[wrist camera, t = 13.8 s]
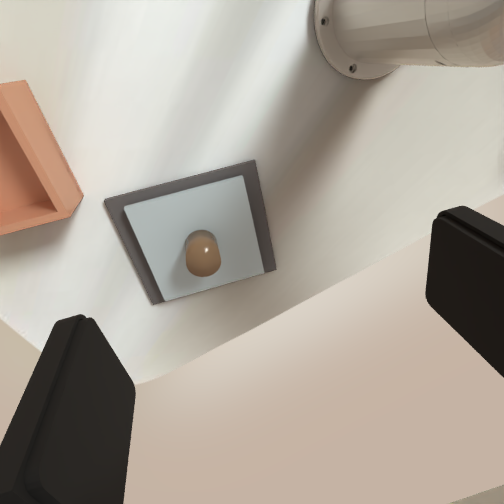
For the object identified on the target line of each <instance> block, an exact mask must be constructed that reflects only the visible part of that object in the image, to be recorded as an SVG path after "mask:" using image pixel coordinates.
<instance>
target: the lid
mask: <svg viewBox="0 0 504 504" xmlns="http://www.w3.org/2000/svg"><path fill="white" fill-rule="evenodd" d="M124 210H125V213H126V215H127V217H128V219H129V221H130V224H131V226H132V228H133V230H134V233H135V235H136V237H137V239H138V242H139V244H140V246H141V248H142V251H143V253H144V255H145V257H146V260H147V262H148V264H149V266H150V269H151V271H152V273H153V275H154V278H155V280H156V282H157V284H158V287H159V289H160V291H161V293H162V296H163V298H164V300H165V301H169V300H172V299H176V298H179V297H183V296H186V295H190V294H193V293H197V292H200V291H204V290H207V289H211V288H214V287H218V286H221V285H225V284H228V283H232V282H235V281H239V280H242V279H246V278H249V277H253V276H256V275H260V274H263V273H264V268H263V264H262V259H261V255H260V250H259V246H258V241H257V237H256V232H255V228H254V223H253V219H252V214H251V210H250V205H249V201H248V196H247V192H246V187H245V183H244V178H243V176H242V175H240V176H236V177H233V178H229V179H225V180H221V181H218V182H214V183H210V184H206V185H202V186H199V187H195V188H191V189H187V190H184V191H180V192H176V193H172V194H168V195H165V196H161V197H157V198H153V199H150V200H146V201H142V202H138V203H134V204H131V205H127V206H125V207H124Z"/></svg>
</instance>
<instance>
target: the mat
mask: <svg viewBox="0 0 504 504" xmlns="http://www.w3.org/2000/svg"><path fill="white" fill-rule="evenodd" d="M240 175H242V176H243V178H244V183H245V187H246V192H247V196H248V201H249V205H250V210H251V214H252V219H253V223H254V228H255V232H256V237H257V241H258V246H259V250H260V255H261V259H262V264H263V268H264V273H266V272H270V271H273V270H277V269H276V264H275V259H274V254H273V249H272V244H271V239H270V234H269V229H268V224H267V219H266V214H265V208H264V203H263V198H262V193H261V188H260V183H259V178H258V173H257V168H256V163H255V160H252V161H248V162H244V163H240V164H236V165H233V166H229V167H225V168H221V169H217V170H213V171H210V172H206V173H202V174H198V175H194V176H191V177H187V178H183V179H179V180H175V181H172V182H168V183H164V184H160V185H156V186H152V187H149V188H145V189H141V190H137V191H133V192H130V193H126V194H122V195H118V196H114V197H111V198H107V199H105V200H104V202H105V204H106V206H107V208H108V210H109V212H110V214H111V217H112V219H113V221H114V223H115V225H116V227H117V229H118V231H119V233H120V236H121V238H122V240H123V242H124V244H125V246H126V248H127V250H128V252H129V255H130V257H131V259H132V261H133V263H134V265H135V267H136V269H137V271H138V274H139V276H140V278H141V280H142V282H143V284H144V286H145V288H146V290H147V293H148V295H149V297H150V299H151V301H152V303H153V305H154V304H158V303H161V302H165V300H164V298H163V296H162V293H161V291H160V289H159V287H158V284H157V282H156V280H155V278H154V275H153V273H152V271H151V269H150V266H149V264H148V262H147V260H146V257H145V255H144V253H143V251H142V248H141V246H140V244H139V242H138V239H137V237H136V235H135V233H134V230H133V228H132V226H131V224H130V221H129V219H128V217H127V215H126V213H125V210H124V207H125V206H127V205H131V204H134V203H138V202H142V201H146V200H150V199H153V198H157V197H161V196H165V195H168V194H172V193H176V192H180V191H184V190H187V189H191V188H195V187H199V186H202V185H206V184H210V183H214V182H218V181H221V180H225V179H229V178H233V177H236V176H240Z"/></svg>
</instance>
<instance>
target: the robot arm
mask: <svg viewBox="0 0 504 504" xmlns="http://www.w3.org/2000/svg"><path fill="white" fill-rule="evenodd" d="M322 19H323V20H324V24H323V25H322V24H321V20H322ZM314 23H315V31H316V36H317V41H318V44H319V46H320V49H321V51H322V53H323V55H324V56H325V58H326V60H327V61H328V62H329V63H330V65H331V66H332V67H333V68H334V69H335V70H337V71H338V72H340V73H341V74H343V75H345V76H348V77H351V78H355V79H374V78H378V77H382V76H384V75H386V74H388V73H390V72H392V71H393V70H395V69H396V68H398V67H399V66H400V65H422V66H449V67H493V66H499V65H503V64H504V0H315V9H314ZM350 66H351V70H350V71H349V67H350ZM426 299H427V302H428V303H429V304H430V306H431V307H432V308H433V309H434V310H435V311H436V312H437V313H438V314H439V315H440V316H441V317H442V318H443V319H444V320H445V321H446V322H447V323H448V324H449V325H450V326H451V327H452V328H453V329H454V330H456V331H457V332H458V333H459V334H460V335H461V336H462V337H463V338H464V339H465V340H466V341H467V342H468V343H469V344H470V345H471V346H472V347H473V348H474V349H475V350H476V351H477V352H478V353H479V354H480V355H481V356H482V357H483V358H484V359H485V360H486V361H487V362H488V363H489V364H490V365H491V366H492V367H494V369H495V370H497V372H498V373H499V374H500V375H502V376H503V377H504V226H503V225H501V224H499V223H497V222H495V221H493V220H491V219H490V218H487V217H485V216H484V215H482V214H480V213H478V212H476V211H474V210H472V209H470V208H468V207H466V206H458V207H455V208H451V209H448V210H444V211H441V212H440V213H439V214H438V216H437V218H436V219H434V221H433V224H432V233H431V243H430V253H429V263H428V273H427V284H426ZM135 394H136V393H135V387H134V383H133V381H132V380H131V378H130V376H129V375H128V373H127V372H126V370H125V368H124V367H123V365H122V364H121V362H120V360H119V359H118V357H117V356H116V354H115V352H114V351H113V349H112V348H111V346H110V344H109V343H108V341H107V340H106V338H105V336H104V335H103V333H102V331H101V330H100V328H99V327H98V325H97V323H96V322H95V320H94V319H93V318H86V317H85V316H84V315H81V314H79V315H76V316H72V317H69V318H65V319H62V320H59V321H57V322H56V323H55V324H54V327H53V329H52V331H51V333H50V335H49V338H48V340H47V342H46V344H45V347H44V349H43V351H42V354H41V356H40V358H39V361H38V362H37V365H36V367H35V369H34V371H33V374H32V376H31V378H30V380H29V383H28V385H27V387H26V389H25V391H24V394H23V396H22V398H21V400H20V403H19V405H18V407H17V410H16V412H15V414H14V416H13V418H12V421H11V423H10V425H9V427H8V429H7V432H6V434H5V437H4V439H3V441H2V443H1V445H0V504H123V501H124V492H125V483H126V475H127V466H128V456H129V448H130V440H131V431H132V422H133V413H134V404H135ZM450 504H504V485H502V486H499V487H496V488H493V489H490V490H487V491H484V492H481V493H478V494H476V495H473V496H470V497H467V498H464V499H461V500H458V501H455V502H452V503H450Z"/></svg>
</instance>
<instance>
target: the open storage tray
mask: <svg viewBox="0 0 504 504" xmlns="http://www.w3.org/2000/svg"><path fill="white" fill-rule="evenodd" d="M83 196H84V195H83V193H82V191H81V189H80V187H79V185H78V183H77V181H76V179H75V177H74V175H73V173H72V171H71V169H70V167H69V165H68V163H67V161H66V159H65V157H64V155H63V153H62V151H61V149H60V147H59V145H58V143H57V141H56V139H55V137H54V135H53V133H52V131H51V129H50V127H49V125H48V123H47V121H46V119H45V118H44V116H43V114H42V112H41V110H40V108H39V106H38V104H37V102H36V100H35V98H34V96H33V94H32V92H31V90H30V88H29V86H28V84H27V82H26V80H21V81H15V82H9V83H3V84H0V235H3V234H7V233H11V232H15V231H19V230H22V229H26V228H30V227H34V226H38V225H41V224H45V223H49V222H53V221H56V220H60V219H64V218H68V217H70V216H71V215H72V213H73V212H74V210H75V208H76V207H77V205H78V204H79V202H80V201H81V199H82V198H83Z"/></svg>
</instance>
